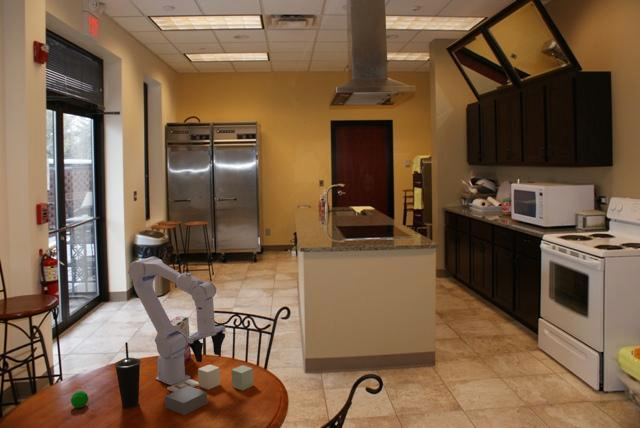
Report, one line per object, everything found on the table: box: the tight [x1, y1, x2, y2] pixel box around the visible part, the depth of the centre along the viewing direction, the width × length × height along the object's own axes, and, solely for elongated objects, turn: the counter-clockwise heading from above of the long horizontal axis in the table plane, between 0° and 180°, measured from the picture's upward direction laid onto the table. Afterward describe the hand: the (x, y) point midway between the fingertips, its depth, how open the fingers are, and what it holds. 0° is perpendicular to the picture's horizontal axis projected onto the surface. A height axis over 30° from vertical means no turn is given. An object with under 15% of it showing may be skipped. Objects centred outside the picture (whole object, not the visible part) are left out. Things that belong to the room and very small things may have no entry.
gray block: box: [164, 386, 208, 416], centre depth 160 cm, size 9×9×4 cm
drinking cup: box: [114, 341, 142, 409], centre depth 161 cm, size 8×8×20 cm
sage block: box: [231, 364, 254, 391], centre depth 173 cm, size 5×5×6 cm
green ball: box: [70, 390, 89, 409], centre depth 161 cm, size 5×5×5 cm
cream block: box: [197, 364, 221, 390], centre depth 175 cm, size 5×5×6 cm
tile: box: [166, 378, 199, 393], centre depth 174 cm, size 6×9×1 cm, turn 141°
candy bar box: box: [166, 315, 192, 364], centre depth 196 cm, size 11×5×16 cm, turn 169°
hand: (208, 358), depth 174 cm, fingers open, 7 cm apart
